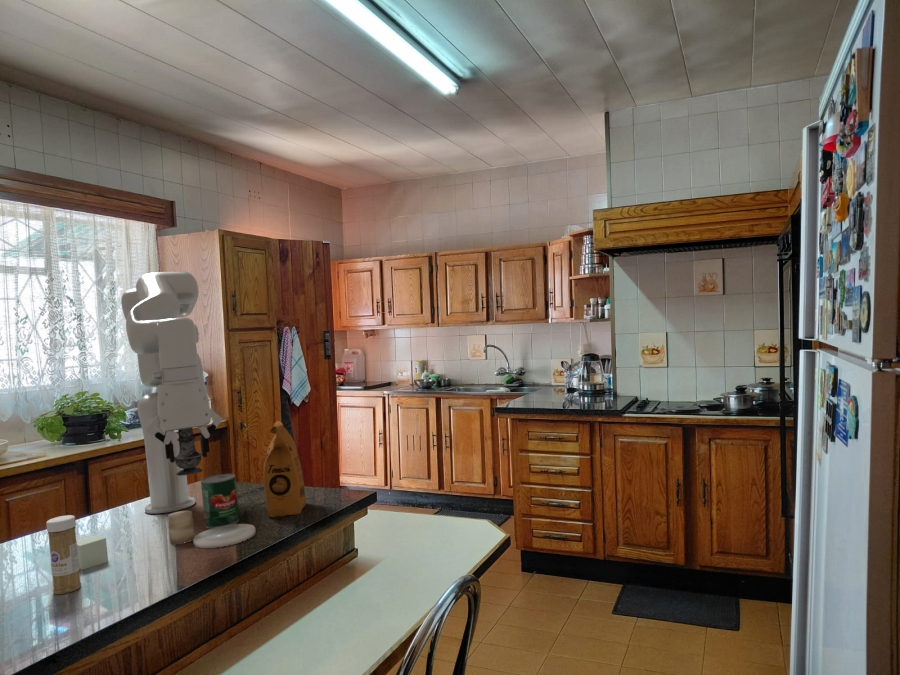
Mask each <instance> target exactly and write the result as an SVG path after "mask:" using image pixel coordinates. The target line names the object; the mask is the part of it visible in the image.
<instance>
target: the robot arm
mask: <svg viewBox="0 0 900 675" xmlns="http://www.w3.org/2000/svg"><path fill="white" fill-rule="evenodd" d="M199 291H200V290H199V285H198V281H197V280H196V278H195V276H194V275H193V274H192V273H190V272H188V271H156V272H153V271H152V272H149V273H145V274H143V275H141V276H140V277H139V278H138V279H137V281H136V284H135V288H131V289H128V290H126V291H125V292H123V293H122V295H121V309H122V313H123V316H124V318H125V329H126V331H125V332H126V335H127V340H128V344H129V346H130V349H131V350H132V351H133V352H134V353H135V354H136V355H137V363H138V372H139V373H138V374H139V376H140V380H141V383H142V384H143V386H145V387H147V388H157V391H155V392H151V393H148V394H145V395H143V396H142V397H141V398H139V400H138V402H137V407H136V408H137V414H138V418H139V422H140V426H141V429H142V436H143V440H144V448H145V449H144V450H145V459H146V460H145V461H146V468H147V477H148V478H147V480H148V487H149V488H148V489H149V499H150V503H149V504H147V505H146V506H144V512H145V513H147V514H151V515H152V514H153V515H155V514H165V513H174V512H178V511H182V510H185V509H187V508H190V507H192V506H193V505H195V503H196V498H195V497H193V496H190V495H189V488H188V486H189V485H188V479H187V478H188V475H184V476H178V475H176V474H177V473H178V472H179V471H180V470H184V469H182V468H179V467H178V466H177V465H176V463H175V460H174V457H176V456H177V455H178V454H179V450H180V448H179V441H178V440H177V439H178V438H179V433H178V432H176V431H178V430H182V429H189V428H193V429H194V428H197V429H198V430H199V432H200V434H201V435H200V438H199V442H200V451H201V452H200V453H202V454H203V455H202V456H201V457H203V458H207V457H208V453H210V443H209V442H210V441H209V438H210V436H211V435H212V434H213V432H214V431H215V430H216V429H217V428H218V426H219V425H220V424H221V423H222V421H224V420H223V417H222V416H221V415H219V414H218V413H216V412H215V411H214V410H213V409H212V408H211V407H210V400H209V396H208V391H207V386H206V383H205V376H204V369H203V364H202V363H203V362H202V359H201V357H200V355H199V354H198V348H197V344H198V342H199V339H200V337H199V336H200V333H199V329H198V328H199V327H198V325H197V324H195V322H194V320H193V319H191V318H189V317H187V316H189V315H190V314H192V313H193V311H194V308H195V306H196V304H197V301H198V299H199ZM212 419H213V421H212ZM206 426H207V427H206Z"/></svg>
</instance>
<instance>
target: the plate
mask: <svg viewBox="0 0 900 675" xmlns="http://www.w3.org/2000/svg"><path fill="white" fill-rule="evenodd" d="M255 535H256V527H255V525H253V524H250V523H235V524H232V525H225V526H220V527H216V528H208V529H206V530H204V531H201V532H199V533H198V534H196V535H194V538H193V540H192V543H193V546H194V545H195V547H196V548H198V547H199V548H198V549H217V547H219V548H223V547H224V546H225V547H229V545H230V546H233V544H234V545H237V544H240V543H243V542H245V541H247V539H248V540H250V539H251V538H252V537H254V536H255ZM242 541H243V542H242ZM225 547H224V548H225Z"/></svg>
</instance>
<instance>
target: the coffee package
mask: <svg viewBox="0 0 900 675" xmlns="http://www.w3.org/2000/svg"><path fill="white" fill-rule="evenodd" d="M269 432H270V433H271V434H274V436H273V438H272V439H271V441H270V442H269V446H268V448H267V450H266V455H265V458H264V459H265V460H264V463H263V464H264V465H263V472H262V474H263V475H262V476H263V477H262V478H263V489H264V495H265V502H266V510H267V511H266V512H267V514H268V516H270V517H271V518H275V517H281V518H283V517H286V516H293V515H300V514H301V513H302V511H303V509H305V506H306V501H307V500H306V493H305V490H306V489H305V482H304V475H303V471H302V464H301V461H300V456H299V453H298V449H297V445H296V442H295V440H294V439H293V436H292V435H291V434H290V433H289V432H288V430H287V429H286V428H285V427H284V424H283V422H281V421H280V420H277V421H276V422H274V423H273V426H272V428H271V429H270V431H269Z"/></svg>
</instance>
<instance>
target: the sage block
mask: <svg viewBox="0 0 900 675" xmlns="http://www.w3.org/2000/svg"><path fill="white" fill-rule="evenodd" d="M76 541H77V550H78V559H79V568H80V569H79V570H81V569H82V570H81V571H83V569H84V570H86V568H87V569H89V567H90V568H93V567H96V566H98V565H101V563H102V564H104V563H107V562H109V555H108V545H107V538H106V537H104V536H100V535H98V534H94V535H90V536H87V537H84V538H81V539H76ZM92 566H93V567H92Z"/></svg>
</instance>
